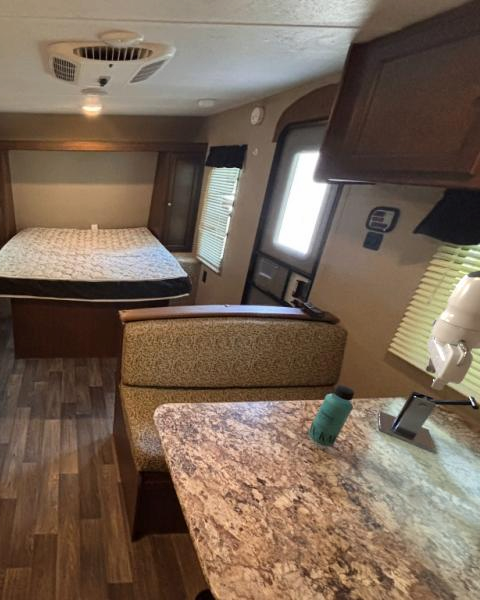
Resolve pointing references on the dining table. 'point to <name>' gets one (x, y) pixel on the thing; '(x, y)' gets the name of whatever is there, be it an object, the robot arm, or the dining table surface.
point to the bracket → (410, 421)
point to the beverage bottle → (332, 416)
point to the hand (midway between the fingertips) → (432, 379)
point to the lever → (454, 402)
